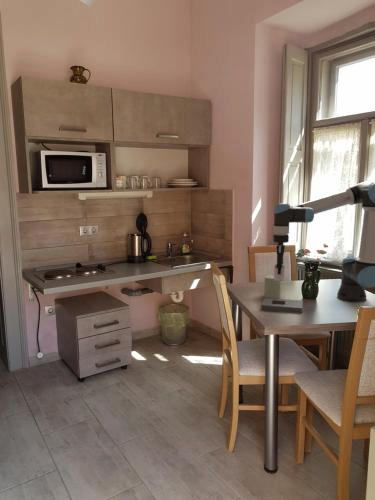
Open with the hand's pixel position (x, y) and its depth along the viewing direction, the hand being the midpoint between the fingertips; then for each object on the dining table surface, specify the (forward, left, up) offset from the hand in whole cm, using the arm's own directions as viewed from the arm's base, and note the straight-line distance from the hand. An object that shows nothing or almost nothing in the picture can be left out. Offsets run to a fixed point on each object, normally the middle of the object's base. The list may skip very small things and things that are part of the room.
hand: (279, 279), depth 205 cm
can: (+5, -20, -15) cm, 26 cm away
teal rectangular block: (0, 0, 0) cm, 0 cm away
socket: (-2, 0, -15) cm, 15 cm away
